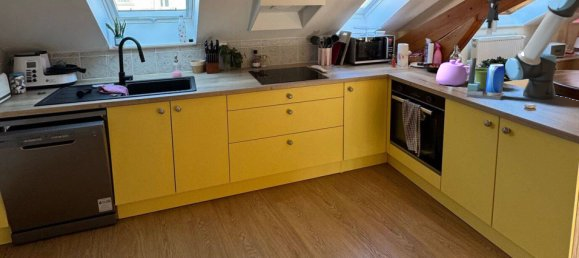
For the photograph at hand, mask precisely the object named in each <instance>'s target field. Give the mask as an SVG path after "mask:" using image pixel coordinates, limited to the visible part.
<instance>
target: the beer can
mask: <svg viewBox="0 0 579 258" xmlns="http://www.w3.org/2000/svg"><path fill="white" fill-rule="evenodd" d="M487 68H488V72H487V82H486V93H487V94H489V95H500V94H501V93H503V91H504V89H503V88H504V81H505V74H506V70H505V67H504V64H501V63H491V64H489V67H487Z"/></svg>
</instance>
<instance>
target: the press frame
mask: <svg viewBox="0 0 579 258" xmlns="http://www.w3.org/2000/svg"><path fill="white" fill-rule="evenodd" d="M503 95H505V94H504V92H502V93H501V94H500V95H489V94H487V93H486V88H480V91H470V90H468V91H467V90H466V97H467V98H474V99H475V98H476V99H477V98H478V99H484V100H485V99H488V100H495V101H501V100H502V98H503V97H504V96H503Z"/></svg>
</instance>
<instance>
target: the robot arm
mask: <svg viewBox="0 0 579 258" xmlns="http://www.w3.org/2000/svg"><path fill="white" fill-rule="evenodd" d="M487 2H488V3H489V7H488V13H487V18H486V21H485V23H486V33H485V34H486V35H489V36H490V35H491V36H492V34H493V33H497V30H498V29H497V27H498V21H500V18H499V4H500V3H499V2H503V0H487ZM578 10H579V0H547V13H546V14H545V16H544V17H543V19H542V21H540V24H539V25H538V26H537V28H536V29H535V31H534V33H533V35H532V36H531V37H530V39H529V41H528V43H527V44H526V45H525V46H524V48H523V49H521V50H519V51H518V52H517V53H516V55H515V56H514V57H510V58H508V59H507V60H506V62H505V67H504V68H505V74H506V75H507V77H508V78H509V79H510V80H512V81H522V80H528V81H527V83H526V86H525V88H524V89H523V90H522V91H523V93H522V96H523V97H524V98H529V99H534V100H535V99H536V100H552V99H555V97H556V91H555V86H554V78H555V72H556V66H557V56H556V55H555V54H554V55H553V54H549V53H548V54H547V53H545V51H546V49H547V48H548V47H549V45H550V43H552V40H553V39H554V38H555V36H556V35H557V33H558V32H559V31H560V29H561V28H562V27H563V25H564V23H565V22H566V20H567V19H571V18H573V17H574V15H575V14H576V12H577V11H578Z"/></svg>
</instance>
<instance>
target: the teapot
mask: <svg viewBox="0 0 579 258" xmlns="http://www.w3.org/2000/svg"><path fill="white" fill-rule="evenodd" d="M460 61H461V59H460V58H458V59H456V60H455V59H451V60H449V62H448V61H447V62H443V63H441V64H440V66H439V68H438V70H437V73H436V78H435V80H436V82H437V84H440V85H441V86H445V85H447V86H449V85H450V86H453V87H457V86H462V85H464V84H465V83H466V81H467V79H468V77H469V71H470V65H465V64H464V63H462V62H460ZM467 69H468V71H467Z"/></svg>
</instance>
